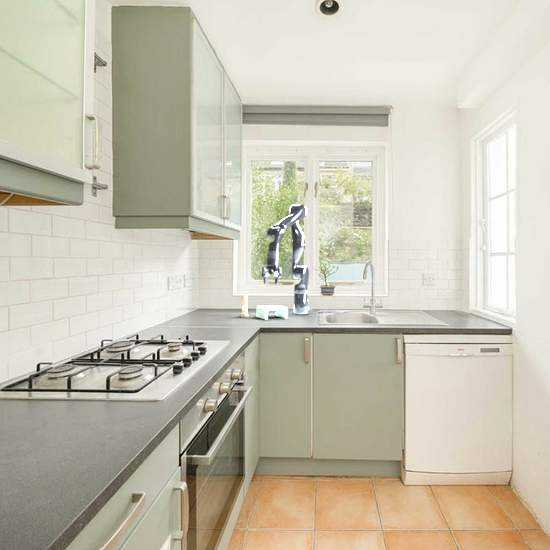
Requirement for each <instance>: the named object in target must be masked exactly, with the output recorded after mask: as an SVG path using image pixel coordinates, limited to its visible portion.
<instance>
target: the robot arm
mask: <svg viewBox="0 0 550 550" xmlns="http://www.w3.org/2000/svg"><path fill="white" fill-rule="evenodd" d="M307 214H308V208H307V206H306V205H305V204H292V205H291V206H290V207H289V215H288V216H286V217H284V218H282V219H281V220H280V221H279V222H277V223H276V224H274V225H273V224H272V225H271V226H270V227H269V228H268V229H267V231H266V236H267V237H268V238H269V239H273V240H272V241H270V242H269V243H268V246H267V255H266V264H265V265H266V267H262V268H261V275H260V276H261V278H263V284H264V285H267V284H268V277H269V276H270V275H271V276H272V275H273V276H274V277H275V278H274V285H278V284H279V279H281V278H283V267H279V264H280V263H279V262H280V246H281V243H282V240H283V238H284V233H285V232H286V231H287V230H288V229H289V228H290V229H291V230H290V231H291V250H292V254H291V255H292V264H291V275H292V278H293V279H294V280H300V281H299V282H298V283H296V284H294V288H293V289H294V290H293V308H292V311H293V314H295V315H308V314H309V311H311V312H312V313H313V314H318V313H337V314H340V313H345V312H347V313H349V311H348V310H347V309H344V310H342V311H332V310H319V311H314V310H313V309H312V308H311V306H310V303H309V299H308V292H309V291H308V289H309V288H308V287H309V283H310V282H309V281H310V269H309V267H308V266H307V265H300V264H301V263H300V261H301V257H302V255H303V253H304V251H305V249H306V236H305V234H304V232H303V231H302V228H301V227H300V225H299V221H300V220H302V219H304V218H305V217H307Z"/></svg>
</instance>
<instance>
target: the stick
mask: <svg viewBox="0 0 550 550" xmlns="http://www.w3.org/2000/svg"><path fill="white" fill-rule="evenodd" d="M248 301H249V300H248V294H242V295H241V314H240V317H242V318H243V317H244V318H247V317H249V314H248Z"/></svg>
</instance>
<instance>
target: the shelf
mask: <svg viewBox="0 0 550 550" xmlns="http://www.w3.org/2000/svg"><path fill="white" fill-rule="evenodd" d="M270 311H272V312H273V311H275V312H274V314H275V315H274V316H275V317H279V318H282V319H288V318H289V317H288V316H289V314H288V313H289V307H288V306H283V305H279V304H276V305H275V304H273V305H255V317H256V318H258V319H262V320H269V312H270Z"/></svg>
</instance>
